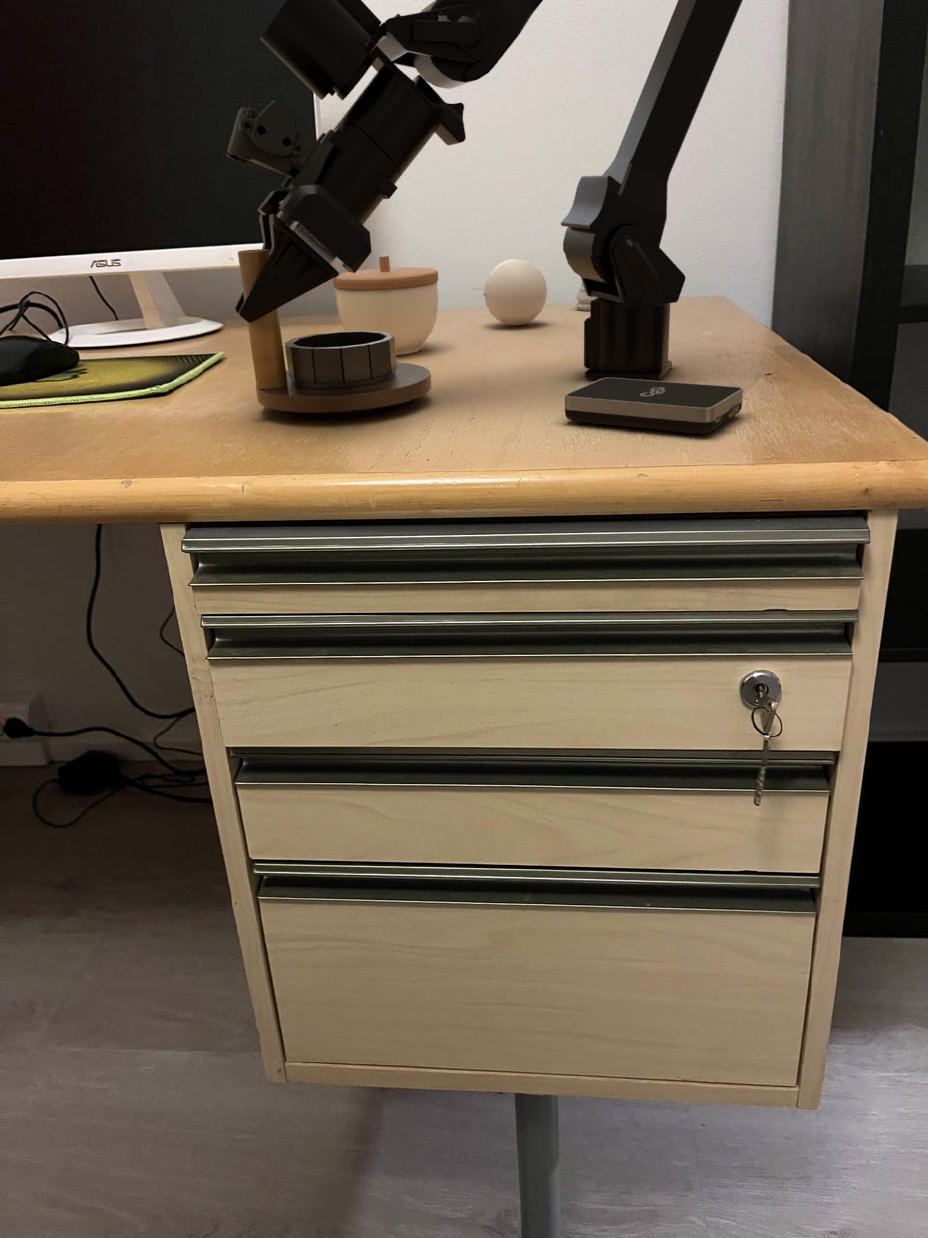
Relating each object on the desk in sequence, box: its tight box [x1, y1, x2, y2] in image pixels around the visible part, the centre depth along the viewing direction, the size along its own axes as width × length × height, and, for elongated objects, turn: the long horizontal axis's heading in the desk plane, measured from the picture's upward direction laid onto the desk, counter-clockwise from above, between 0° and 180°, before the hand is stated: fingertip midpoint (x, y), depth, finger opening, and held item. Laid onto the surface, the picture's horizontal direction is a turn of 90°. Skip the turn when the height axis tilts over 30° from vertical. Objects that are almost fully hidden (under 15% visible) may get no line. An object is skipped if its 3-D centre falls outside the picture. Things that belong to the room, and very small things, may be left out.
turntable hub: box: [299, 405, 394, 418], centre depth 77 cm, size 8×8×1 cm
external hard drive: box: [564, 378, 744, 435], centre depth 68 cm, size 7×11×2 cm, turn 56°
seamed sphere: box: [470, 258, 548, 326], centre depth 111 cm, size 10×7×7 cm
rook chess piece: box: [575, 281, 597, 312], centre depth 120 cm, size 4×4×8 cm
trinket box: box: [332, 254, 439, 356], centre depth 98 cm, size 11×11×9 cm
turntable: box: [237, 248, 432, 413], centre depth 75 cm, size 14×14×11 cm
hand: (241, 316), depth 73 cm, fingers open, 3 cm apart
